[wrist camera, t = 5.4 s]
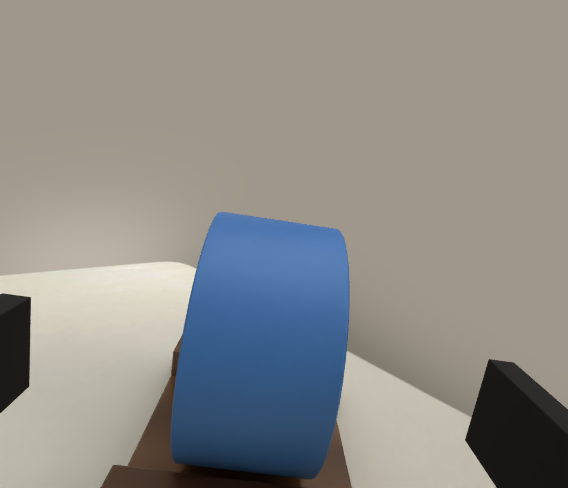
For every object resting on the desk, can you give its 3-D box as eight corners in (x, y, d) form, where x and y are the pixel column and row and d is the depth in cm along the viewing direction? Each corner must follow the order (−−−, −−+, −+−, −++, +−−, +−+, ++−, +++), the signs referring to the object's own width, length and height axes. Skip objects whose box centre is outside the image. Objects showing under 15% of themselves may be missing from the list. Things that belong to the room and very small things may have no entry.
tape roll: (309, 551, 13) (370, 268, 11) (158, 535, 13) (187, 242, 11) (296, 380, 23) (327, 211, 21) (209, 369, 23) (231, 197, 20)
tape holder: (380, 672, 11) (399, 603, 11) (54, 641, 11) (56, 567, 10) (321, 378, 26) (328, 343, 25) (183, 359, 25) (187, 323, 25)
